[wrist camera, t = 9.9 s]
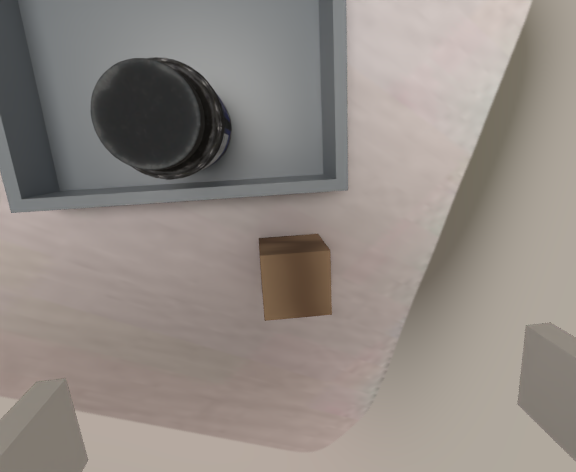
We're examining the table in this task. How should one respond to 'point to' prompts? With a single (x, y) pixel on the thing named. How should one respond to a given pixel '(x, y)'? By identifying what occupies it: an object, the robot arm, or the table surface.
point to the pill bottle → (160, 117)
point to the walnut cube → (295, 276)
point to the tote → (201, 57)
